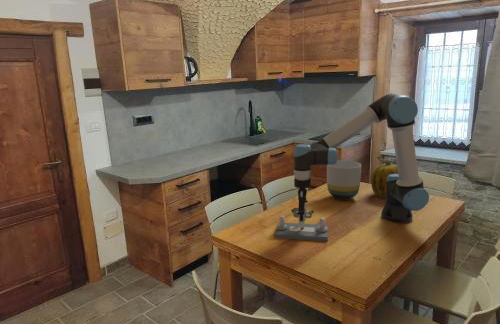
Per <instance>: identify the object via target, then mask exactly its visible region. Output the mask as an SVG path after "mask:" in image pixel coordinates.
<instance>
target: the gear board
mask: <svg viewBox="0 0 500 324" xmlns="http://www.w3.org/2000/svg"><path fill="white" fill-rule="evenodd" d="M285 219H286V218H285V216H284V215H280V216H279V222H278V224H277V225H276V230H275V232H274V238H275V239H283V240H284V239H286V240H299V241H300V240H301V241H315V242H316V241H319V242H328V241H329V240H328V239H329V235H328V231H329V229H328V228H329V227H328V224H326V218H325V217H320V218H319V224H316V223H305V227H304V229H303V230H301V227H299V222H297V223H295V222H285Z"/></svg>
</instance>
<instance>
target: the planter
mask: <svg viewBox="0 0 500 324" xmlns="http://www.w3.org/2000/svg"><path fill="white" fill-rule="evenodd" d="M361 175H362V164H361V162H357V161H354V160H348V159H347V160H346V159H340V160H339V159H337V162H336V164H330V165H326V185H327V190H328V193H329V194H330V196H332V197H333V198H335V200H339V201H348V200H351V199H353V198H355V197H356V196H357V195H358V194H359V193H358V192H359V190H360V188H361V187H360V186H361V178H362V176H361Z"/></svg>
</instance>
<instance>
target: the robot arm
mask: <svg viewBox="0 0 500 324" xmlns="http://www.w3.org/2000/svg"><path fill="white" fill-rule="evenodd" d="M417 104H418V103H416V101H415V100H414V99H413V98H412V97H410V96H409V95H404V94H395V93H389V94H385V95H383V96H381V97H380V98H378V99H376V100H375V101H373V102H371V103H370V104H369V105H367V106H366V109H365V110H363V111H362V112H360V113H359V114H357V115H356V116H354V117H353V118H351V119H350V120H348V121H347V122H345V123H344V124H342V125H341V126H339V127H338V128H336V129H334V130H333V131H332V132H331V133H328V134H327V135H326V136H324V137H323V138H320V139H319V140H317V141H313V142H310V144H308V143H302V144H296V145H295V146H294V149H293V168H294V169H293V171H292V173H293V175H294V176H293V177H294V178H293V179H294V180H293V183H294V187H295V188H298V189H297V190H298V191H297V195H298V197H297V199H298V200H297V201H298V208H299V210H298V211H297V212H296V213H297V214H299V218H298V223H299V227H305V224H306V223H305V222H306V218H305V213H304V208H305V209H306V210H307V203H308V200H307V193H308V188H310V187H311V185H312V184H311V177H312V174H311V173H312V172H311V171H312V166H327V165H330V164H336V162H337V160H339V158H338V157H339V155H338V150H337V149H336V148H338V147H340V146H341V145H343V144H344V143H346V142H347V141H349V140H351V139H352V138H353V137H356V136H357V135H359V134H360V133H361V132H363V131H365V130H366V129H367V128H369V127H371V126H372V125H374V124H379V123H381V122H383V121H384V120H386V125H387V128H388V129H390V130H391V135H392V140H393V141H392V142H393V147H394V148H393V149H394V155H395V159H396V160H395V161H396V165H397V168H398V174H391V175H388V177H387V181H386V182H387V184H386V198H385V202H384V205H383V207H382V210H381V213H380V217H381V219H383V220H384V221H387V222H391V223H395V224H396V223H397V224H407V223H410V222H412V221H413V212H417V211H421V210H423V209H424V208H425V207H426V206H427V204H428V203H429V201H430V194H429V192H428V191H427V189H425V187H424V186H425V185H424V179H423V178H422V177H420V175H419V169H418V168H419V167H418V162H417V154H416V147H415V140H414V133H413V127H414V126H415V124H416V120H415V119H416V118H417V116H418V111H419V110H418V105H417ZM300 211H303V212H300ZM412 211H413V212H412Z"/></svg>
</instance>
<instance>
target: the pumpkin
mask: <svg viewBox="0 0 500 324" xmlns="http://www.w3.org/2000/svg"><path fill="white" fill-rule="evenodd" d="M381 157H382V156H381V155H379V154H378V155H377V157H376V159H377V160H379V161H380V162H382V164H378V165H377V166H375V168H374V169H373V170H372V172H371V176H370V185H371V189H372V191H373V193H374V194H375V195H376V196H377V197H380V198H384V199H386V184H387V182H386V181H387V177H388V175H391V174H398V168H397V164H392V163H390V161H388V160H387V159H385V158H381Z"/></svg>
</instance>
